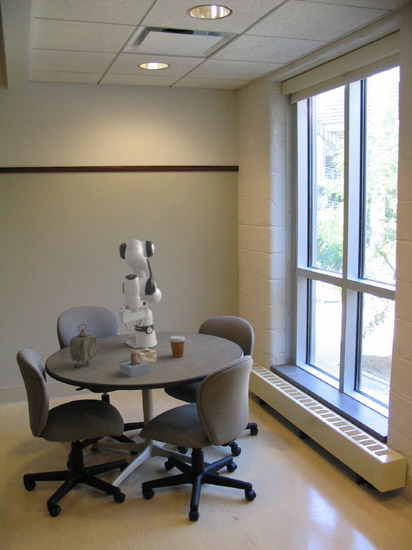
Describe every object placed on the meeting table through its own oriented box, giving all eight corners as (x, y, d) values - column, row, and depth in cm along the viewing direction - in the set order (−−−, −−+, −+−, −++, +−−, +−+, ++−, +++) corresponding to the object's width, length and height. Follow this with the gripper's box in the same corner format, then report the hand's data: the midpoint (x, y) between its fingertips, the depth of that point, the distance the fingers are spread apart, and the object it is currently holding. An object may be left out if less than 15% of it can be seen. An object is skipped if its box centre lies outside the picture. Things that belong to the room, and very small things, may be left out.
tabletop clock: (87, 361, 340) (84, 320, 336) (99, 363, 335) (96, 321, 332) (71, 368, 327) (68, 326, 323) (83, 370, 323) (80, 327, 319)
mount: (133, 361, 337) (132, 351, 336) (147, 357, 343) (147, 348, 342) (142, 364, 329) (142, 354, 328) (156, 361, 335) (156, 351, 335)
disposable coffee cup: (183, 358, 338) (183, 339, 337) (168, 358, 340) (167, 338, 339) (187, 354, 348) (186, 335, 346) (172, 353, 350) (171, 334, 348)
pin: (130, 372, 315) (129, 351, 314) (136, 370, 318) (134, 350, 316) (134, 373, 313) (133, 352, 311) (140, 372, 315) (139, 351, 314)
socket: (120, 372, 316) (119, 363, 316) (138, 367, 324) (137, 359, 323) (131, 377, 307) (131, 368, 306) (149, 372, 315) (149, 363, 314)
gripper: (123, 308, 302) (125, 333, 304) (149, 301, 318) (150, 325, 320) (115, 307, 305) (116, 332, 307) (141, 300, 321) (142, 323, 324)
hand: (134, 328), depth 314 cm, fingers open, 8 cm apart
